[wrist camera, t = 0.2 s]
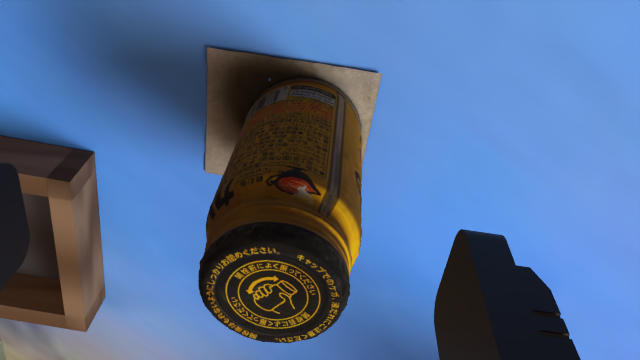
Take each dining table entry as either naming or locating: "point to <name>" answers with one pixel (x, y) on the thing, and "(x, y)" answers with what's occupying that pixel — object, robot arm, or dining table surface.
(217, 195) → the condiment
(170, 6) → the dining table surface
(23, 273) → the wooden maze tray
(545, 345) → the robot arm
